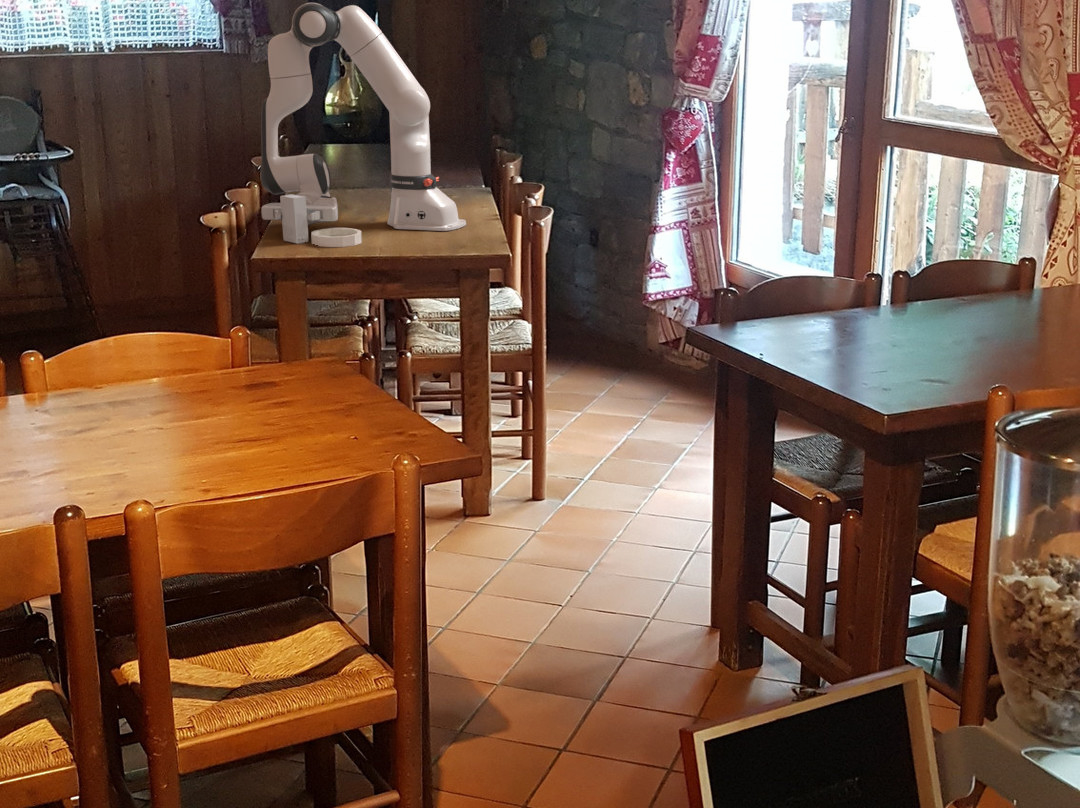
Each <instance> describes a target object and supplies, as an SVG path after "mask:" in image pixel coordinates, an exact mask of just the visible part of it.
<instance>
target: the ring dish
mask: <svg viewBox="0 0 1080 808" xmlns="http://www.w3.org/2000/svg"><path fill="white" fill-rule="evenodd" d="M310 235H311V244H312V245H313V244H315V245H314V246H316V245H318V246H317V247H322V248H323V247H324V248H345V247H346V248H347V247H352V246H357V245H359V244H362V243H363V242H362V241H363V238H362V230H360V229H357V228H351V227H350V228H349V227H327V228H318V229H316V230H313V231H311V234H310Z"/></svg>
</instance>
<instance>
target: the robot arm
mask: <svg viewBox="0 0 1080 808" xmlns="http://www.w3.org/2000/svg"><path fill="white" fill-rule="evenodd" d="M331 41H335V42H337V43H338V44H339V45H340V46H342V48H343V50H344V51H345V52H346V54H347V55H348V56H349V58H350V59H351V60H352V62H353V64H354V65H355V66H356V67H357V69H358V70H359V71H360V72H361V74H362V75H363V76H364V78H365V80H366V81H367V82H368V83H369V85H370V86H371V88H372V90H373V91H374V92H375V93H376V95H377V97H378V98H379V99H380V100H381V102H382V104H383V105H384V106H385V108H386V109H387V110H388V112H389V138H390V139H389V140H390V164H391V165H390V167H391V168H390V169H391V173H390V174H389V185H390V186H389V187H390V188H389V189H390V193H391V194H390V195H391V196H390V198H391V199H390V200H391V201H390V208H389V214H388V219H387V226H391V227H393V229H395V230H412V231H413V230H417V231H435V232H437V231H438V232H446V231H447V232H448V231H454V230H459V229H460V228H463V227H465V226H466V225H467V221H466V220H465V219H461V218H459V213H458V208H457V205H456V202H455V201H454V200H453V199H451V198H450V197H449V196H447V194H445V193H444V192H443V191H442V190H440V189H439V188H438V187H437V182H439V181H440V180H439V179H440V176H437V177H435V176H434V175H433V173H431V169H432V168H431V138H430V136H431V135H430V123H429V122H430V116H429V115H430V110H431V101H430V98H429V96H428V94H427V92H426V91H425V89H424V88H423V86H422V85H421V84H420V83H419V82H418V80H417V79H416V77H415V76H414V75H413V73H412V72H411V70H410V69H409V67H408V66H407V65H406V63H405V62H404V61H403V59H402V58H401V57H400V55H399V53H398V52H397V51H396V50H395V48H394V46H393V45H392V43H391V42H390V41H389V39H388V38H387V36H386V35H385V34H384V33H383V32H382V30H381V29H380V27H379V26H378V25H377V24H376V22H375V21H373V19H372V18H371V16H369V15H368V14H367V13H366V12H365V11H364V10H363V9H362V8H361V7H359V6H358V5H355V4H351V5H347V6H343V7H342V8H340V9H339V10H337V11H334V10H332V9H330V8H328V7H326V6H324V5H322V4H320V3H317V2H306V3H304V4H301V5H300V6H299V7H298V8H297V9H296V10H295V12H294V13H293V16H292V20H291V26H290V29H289V31H287V32H284V33H279V34H276V35H275V36H273V37H272V38H271V39H270V40H269V42H268V45H267V62H268V72H269V73H268V74H269V79H270V89H269V94H268V96H267V97H266V98H265V99H264V100H263V102H262V104H261V105H262V106H261V118H260V119H261V120H260V122H261V124H260V125H261V126H260V129H261V132H260V133H261V134H260V137H261V138H260V139H261V140H260V141H261V142H260V145H261V160H260V182H261V186H262V188H263V189H264V190H266V191H267V192H268V193H270V194H272V195H274V196H276V195H277V196H278V195H282V194H286V193H290V192H297V194H296V195H298V196H303V197H306V210H307V224H308V226H310V225H313V224H315V225H316V224H319V223H329V222H330V223H332V222H336V221H338V220H339V219H338V218H339V211H338V202H337V201H338V200H337V198H336V197H335V196H331V194H330V192H329V190H330V188H331V181H332V180H331V174H330V169H329V166H328V163H327V162H326V161H325V160H324V159H323V158H322V156H320V155H319V154H317V153H308V154H307V153H306V154H298V155H290V156H280V155H279V143H278V142H279V138H278V137H279V135H278V134H279V130H278V128H279V124H280V123H281V122H282V120H283V119H284V118H285V117H287V116H288V115H291V114H292V113H294V112H296V111H297V110H300V109H301V108H302V107H304V106H305V105H306V104H308V103H309V101H310V99H311V97H312V95H313V90H314V88H313V78H312V77H313V76H312V72H311V66H310V52H311V50H312V49H313V48H315V47H318V46H322V45H324V44H326V43H329V42H331ZM261 218H262V219H263V220H265V221H266V220H267V221H282V214H281V202H270V203H267V204H264V205H262V207H261Z"/></svg>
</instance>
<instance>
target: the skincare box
mask: <svg viewBox="0 0 1080 808" xmlns="http://www.w3.org/2000/svg"><path fill="white" fill-rule="evenodd" d="M279 199H280V202H279V203H281V214H282V220H281V224H282V238H283V241H284V242H289V243H293V244H305V242H306V243H308V242H309V227H308V226H309V225H308V224H307V210H306V197H303V196H298V195H297V194H294V193H293V194H285V195H280V197H279Z"/></svg>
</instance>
